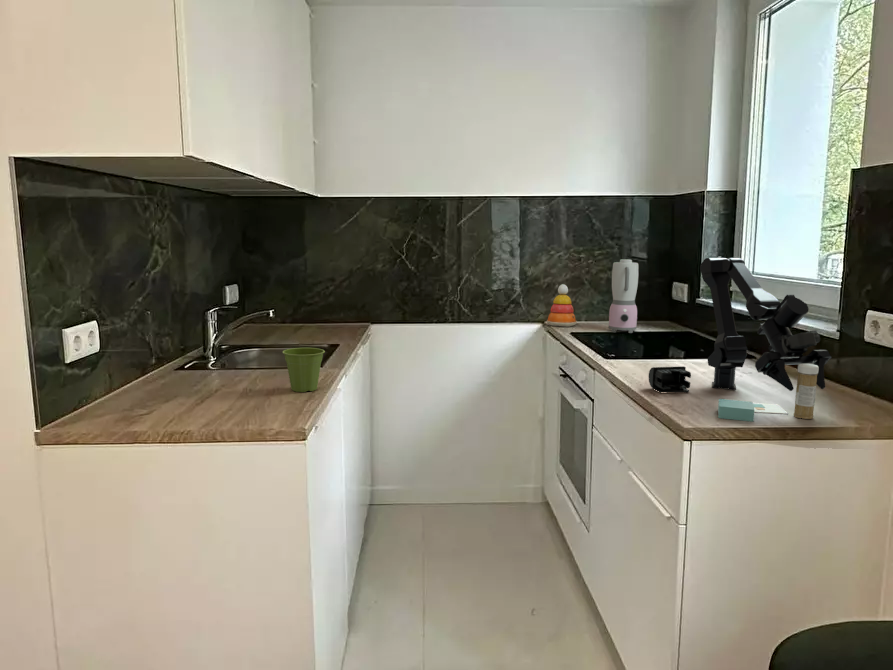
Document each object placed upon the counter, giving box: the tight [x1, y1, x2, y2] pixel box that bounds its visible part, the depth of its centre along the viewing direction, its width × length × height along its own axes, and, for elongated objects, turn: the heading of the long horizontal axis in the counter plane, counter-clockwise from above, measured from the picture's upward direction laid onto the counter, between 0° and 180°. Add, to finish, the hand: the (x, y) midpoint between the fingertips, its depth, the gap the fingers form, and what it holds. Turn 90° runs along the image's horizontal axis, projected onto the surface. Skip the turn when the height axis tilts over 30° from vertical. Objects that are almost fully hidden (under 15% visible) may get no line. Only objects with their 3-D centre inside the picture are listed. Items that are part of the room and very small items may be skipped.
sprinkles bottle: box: [793, 364, 819, 420], centre depth 169 cm, size 5×5×14 cm
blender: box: [608, 258, 639, 334], centre depth 302 cm, size 16×12×32 cm
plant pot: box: [282, 347, 326, 393], centre depth 193 cm, size 12×12×11 cm
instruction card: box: [753, 402, 789, 415], centre depth 178 cm, size 9×12×1 cm
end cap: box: [648, 366, 692, 393], centre depth 197 cm, size 10×7×7 cm
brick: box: [717, 398, 755, 422], centre depth 171 cm, size 8×8×3 cm
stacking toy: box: [546, 283, 578, 328], centre depth 319 cm, size 14×14×20 cm
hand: (807, 389), depth 169 cm, fingers open, 9 cm apart
